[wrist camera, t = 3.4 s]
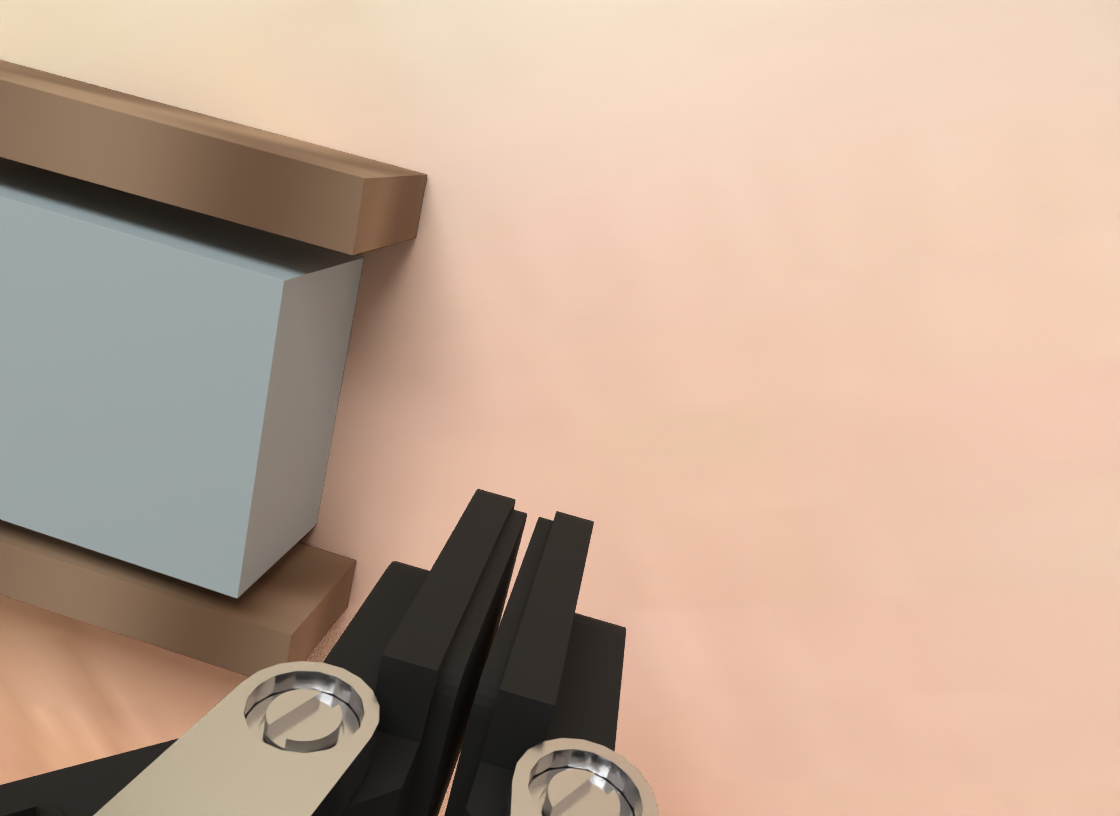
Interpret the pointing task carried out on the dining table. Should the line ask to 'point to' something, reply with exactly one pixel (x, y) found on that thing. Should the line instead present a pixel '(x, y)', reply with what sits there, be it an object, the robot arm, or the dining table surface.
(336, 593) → the walnut chute
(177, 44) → the dining table surface
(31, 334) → the slate block
